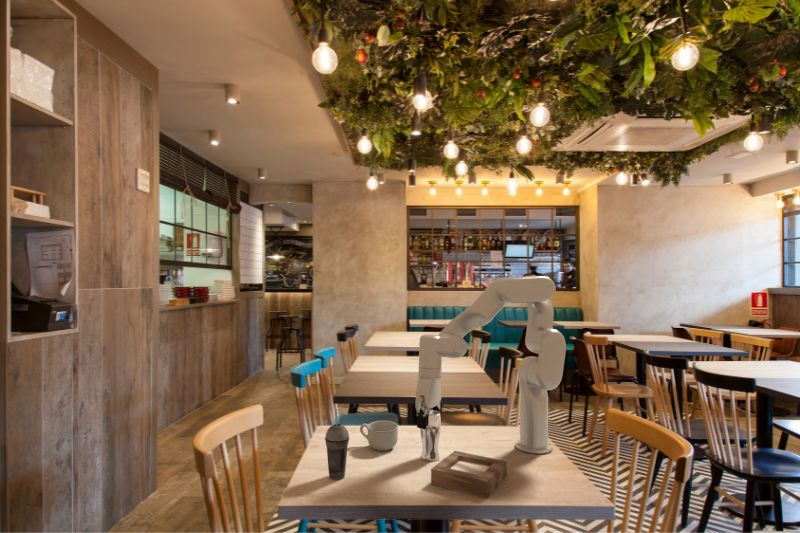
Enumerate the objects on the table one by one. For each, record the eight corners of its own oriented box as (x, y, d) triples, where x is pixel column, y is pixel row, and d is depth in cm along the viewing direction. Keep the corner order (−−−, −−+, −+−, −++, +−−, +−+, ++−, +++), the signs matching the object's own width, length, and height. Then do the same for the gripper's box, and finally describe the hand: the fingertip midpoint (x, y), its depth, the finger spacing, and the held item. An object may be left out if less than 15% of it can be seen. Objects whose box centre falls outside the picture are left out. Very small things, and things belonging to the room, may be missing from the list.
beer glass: (439, 462, 160) (439, 415, 160) (417, 460, 161) (418, 414, 161) (441, 455, 167) (442, 410, 167) (421, 453, 168) (421, 408, 168)
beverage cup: (329, 484, 143) (329, 414, 143) (321, 474, 150) (321, 408, 150) (352, 479, 146) (353, 411, 147) (344, 470, 153) (344, 405, 153)
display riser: (454, 465, 158) (454, 450, 158) (507, 476, 149) (507, 461, 149) (431, 484, 143) (431, 468, 143) (487, 498, 135) (487, 481, 135)
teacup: (403, 446, 175) (404, 423, 175) (386, 456, 165) (386, 431, 166) (371, 439, 182) (371, 417, 182) (353, 448, 173) (353, 424, 173)
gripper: (431, 367, 174) (430, 416, 173) (407, 375, 159) (405, 429, 158) (451, 369, 170) (449, 420, 169) (428, 378, 155) (426, 433, 154)
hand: (428, 424), depth 164 cm, fingers open, 9 cm apart
